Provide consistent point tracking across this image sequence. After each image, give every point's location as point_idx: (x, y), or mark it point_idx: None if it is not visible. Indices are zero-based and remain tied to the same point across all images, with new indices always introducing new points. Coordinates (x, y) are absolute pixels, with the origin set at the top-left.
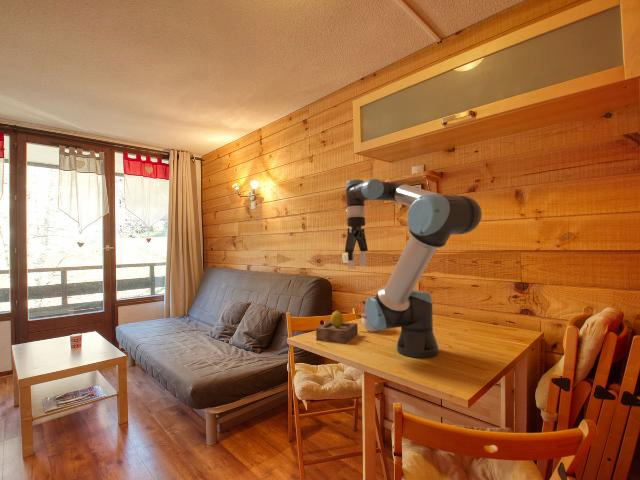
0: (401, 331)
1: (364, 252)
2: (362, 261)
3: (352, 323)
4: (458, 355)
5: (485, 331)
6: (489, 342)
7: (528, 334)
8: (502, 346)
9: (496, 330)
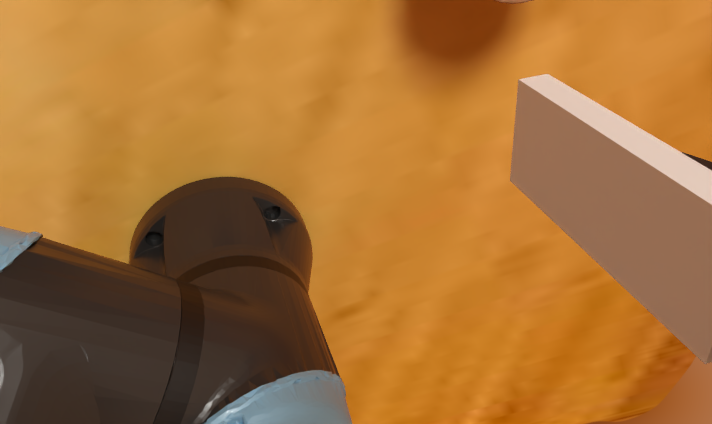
0: (182, 264)
1: (687, 328)
2: (562, 170)
3: None
4: None
5: (581, 327)
6: (450, 374)
7: (571, 412)
8: (420, 408)
9: (600, 345)
